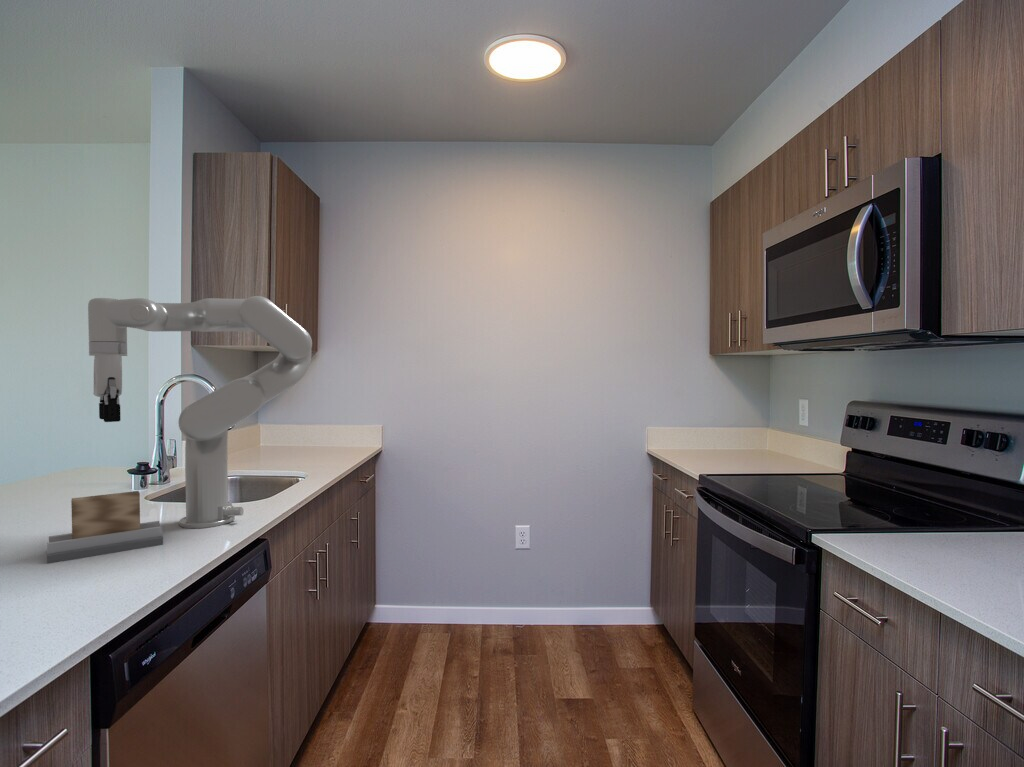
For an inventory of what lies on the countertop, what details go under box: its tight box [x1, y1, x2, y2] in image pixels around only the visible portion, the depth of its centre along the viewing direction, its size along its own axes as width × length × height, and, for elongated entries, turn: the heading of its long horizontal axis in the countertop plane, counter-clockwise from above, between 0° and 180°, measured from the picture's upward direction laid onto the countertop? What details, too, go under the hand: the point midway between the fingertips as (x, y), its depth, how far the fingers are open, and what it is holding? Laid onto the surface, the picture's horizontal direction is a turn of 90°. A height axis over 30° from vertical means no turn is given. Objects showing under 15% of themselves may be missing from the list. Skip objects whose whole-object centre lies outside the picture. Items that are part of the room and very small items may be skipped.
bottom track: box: [46, 520, 164, 564], centre depth 122 cm, size 20×10×4 cm, turn 128°
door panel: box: [70, 490, 141, 539], centre depth 122 cm, size 12×3×10 cm, turn 128°
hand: (109, 420), depth 134 cm, fingers open, 9 cm apart
